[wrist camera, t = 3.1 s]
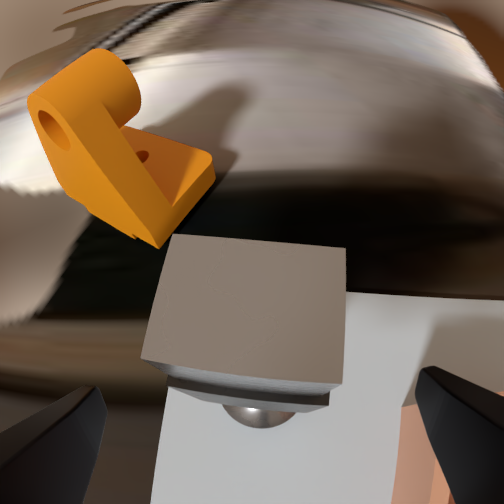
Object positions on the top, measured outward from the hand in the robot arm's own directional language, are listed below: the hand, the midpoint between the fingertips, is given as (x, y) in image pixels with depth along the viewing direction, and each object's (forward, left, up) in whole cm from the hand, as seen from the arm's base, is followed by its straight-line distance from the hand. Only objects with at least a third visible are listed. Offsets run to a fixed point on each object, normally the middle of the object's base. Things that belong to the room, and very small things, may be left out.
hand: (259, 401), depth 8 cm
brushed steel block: (+1, 0, -9) cm, 9 cm away
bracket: (+14, +11, -9) cm, 21 cm away
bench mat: (-2, -6, -9) cm, 11 cm away
